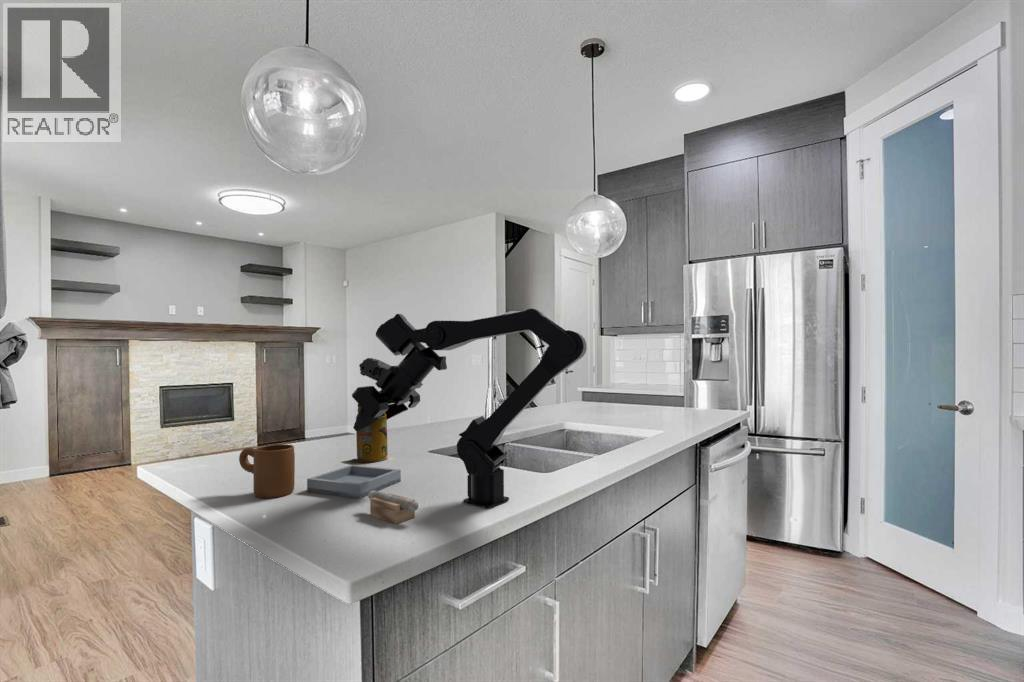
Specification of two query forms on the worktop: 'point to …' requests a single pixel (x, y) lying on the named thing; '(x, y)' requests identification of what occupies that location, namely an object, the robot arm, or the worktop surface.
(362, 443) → the condiment
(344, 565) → the worktop surface
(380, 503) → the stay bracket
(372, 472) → the grey shallow square tray
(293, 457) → the mug
